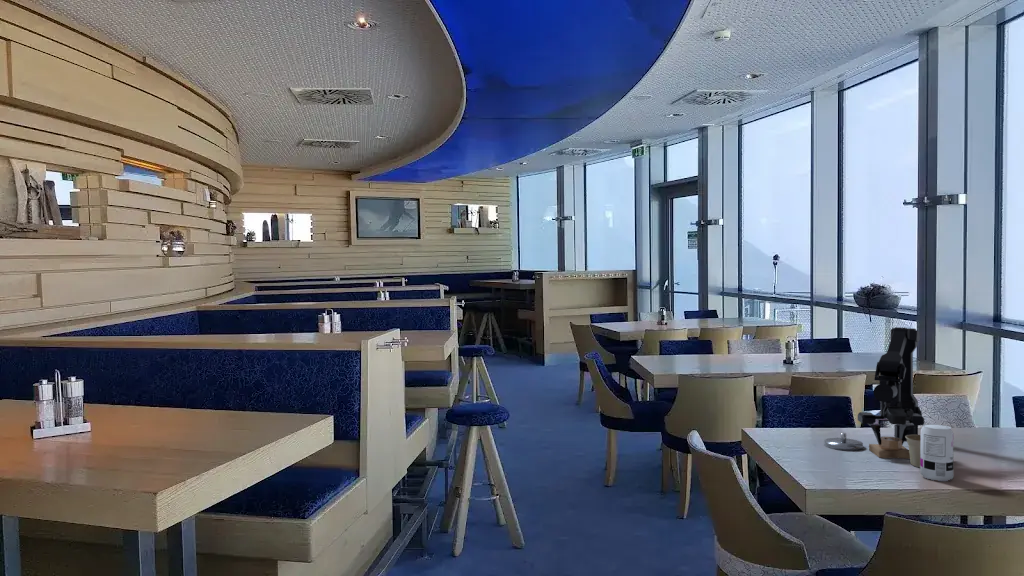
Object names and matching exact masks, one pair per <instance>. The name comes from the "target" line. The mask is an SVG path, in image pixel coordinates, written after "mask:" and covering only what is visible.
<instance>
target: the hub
mask: <svg viewBox="0 0 1024 576" xmlns="http://www.w3.org/2000/svg"><path fill="white" fill-rule="evenodd" d="M823 442H824V446H825V447H826V448H828V449H832V450H838V451H849V452H851V451H853V452H855V451H856V450H857V451H861V450H864V443H863V442H862V441H859V440H858V439H854V438H853V439H852V438H847V433H846V432H840V437H829V438H824V441H823Z"/></svg>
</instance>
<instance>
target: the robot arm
mask: <svg viewBox="0 0 1024 576" xmlns="http://www.w3.org/2000/svg"><path fill="white" fill-rule="evenodd" d="M889 337H890V338H889V344H888V347H887V351H886V353H884V354H882V355H881V356H880V358H879V360H878V361H877V363H876V368H875V373H874V378H873V380H874V381H879V384H877V385H876V386H875V387H874V389H873V392H872V393H873V396H874V398H875V399H876V400H878V401H879V403H880V411H879V414H877V415H876V414H873V413H872V412H867V411H866V412H865V411H861V412H858V414H857V421H858V422H859V423H861V424H863V425H868V426H870V428H871V430H872V431H873V434H874V437H875V438H876V439H875V440H876V442H877V443H878V444H879V445H881V437H882V436H881V428H882V426H881V424H880V422H888V423H889V424H890V425H894V434H893V437H895V438H900V439H901V440H902V446H904V445H903V444H904V443H905V441H907V439H906V438H905V436H907V435H919V426H923V425H924V424H925V418H924V417H923V413H922V410H921V407H920V406H919V400H918V399H917V397H916V396H915V394H914V392H913V391H914V372H913V369H914V366H913V365H914V360H913V358H914V355H913V354H914V351H916V349H917V347H918V346H919V342H920V341H921V340H920V339H921V333H920V331H919V330H917V329H916V328H911V327H896V326H895V327H892V328H891V329H890V334H889Z"/></svg>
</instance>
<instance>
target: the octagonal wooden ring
mask: <svg viewBox="0 0 1024 576" xmlns="http://www.w3.org/2000/svg"><path fill="white" fill-rule="evenodd" d="M888 439H893V440H888ZM902 446H903V445H902V440H901V439H900V438H896V437H895V436H881V445H879V447H880V448H881V449H886V450H901V449H902Z"/></svg>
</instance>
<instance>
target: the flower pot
mask: <svg viewBox="0 0 1024 576" xmlns="http://www.w3.org/2000/svg"><path fill="white" fill-rule="evenodd" d="M905 438H906V439H907V440H906V442H907V445H908V450H909V453H910V465H911V466H913V467H916V468H920V445H921V434H918V435H907V436H905Z"/></svg>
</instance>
